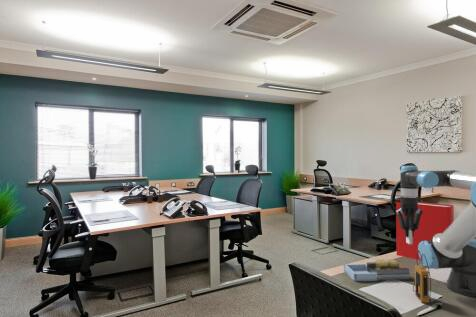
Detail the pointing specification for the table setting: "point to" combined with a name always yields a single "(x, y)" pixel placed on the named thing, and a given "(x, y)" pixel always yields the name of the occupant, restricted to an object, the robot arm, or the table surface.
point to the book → (423, 227)
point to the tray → (359, 272)
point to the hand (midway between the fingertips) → (409, 243)
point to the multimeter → (422, 283)
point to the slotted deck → (389, 276)
